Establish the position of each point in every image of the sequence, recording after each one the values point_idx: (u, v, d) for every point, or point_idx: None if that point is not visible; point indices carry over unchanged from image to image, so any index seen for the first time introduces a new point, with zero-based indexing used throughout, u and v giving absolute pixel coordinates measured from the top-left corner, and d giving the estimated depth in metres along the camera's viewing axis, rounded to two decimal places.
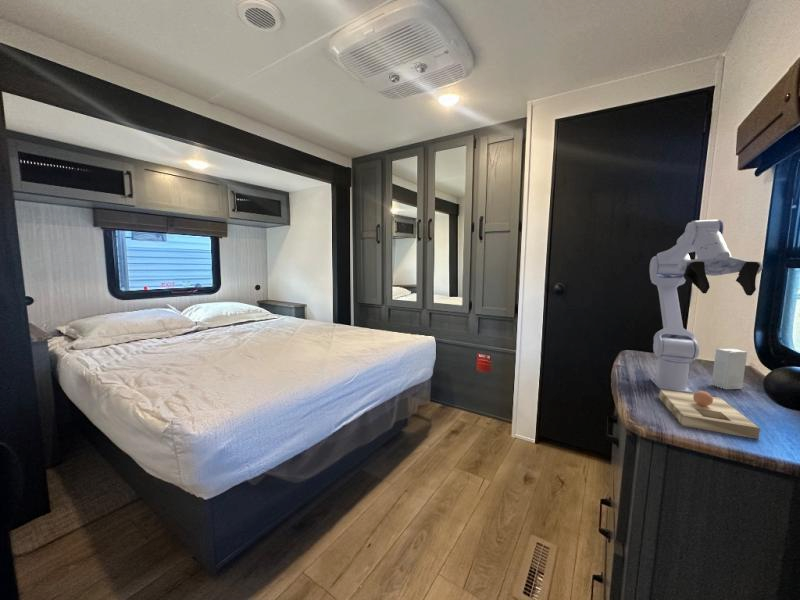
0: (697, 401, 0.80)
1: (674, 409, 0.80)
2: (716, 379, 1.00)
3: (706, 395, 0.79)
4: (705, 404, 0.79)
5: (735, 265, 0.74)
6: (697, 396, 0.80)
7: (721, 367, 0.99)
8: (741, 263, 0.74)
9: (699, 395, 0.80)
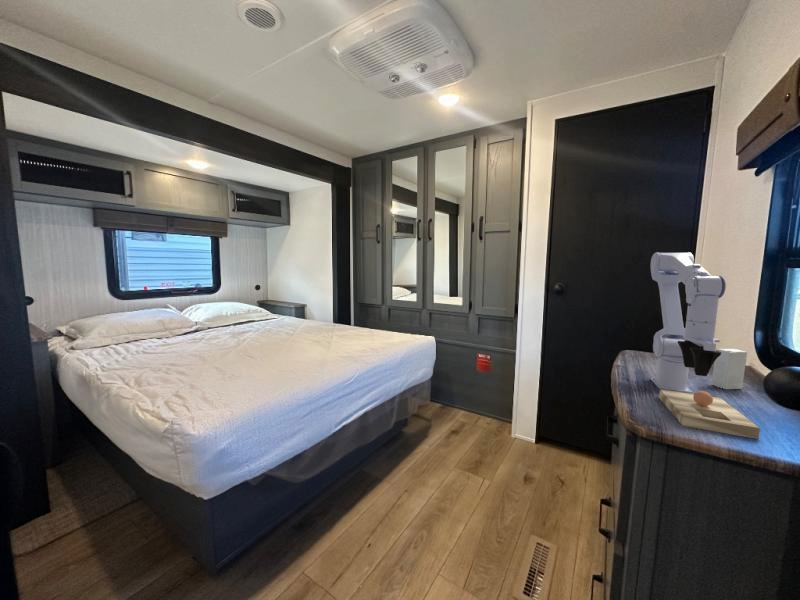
0: (697, 401, 0.80)
1: (674, 409, 0.80)
2: (716, 379, 1.00)
3: (706, 395, 0.79)
4: (705, 404, 0.79)
5: None
6: (697, 396, 0.80)
7: (721, 367, 0.99)
8: None
9: (699, 395, 0.80)
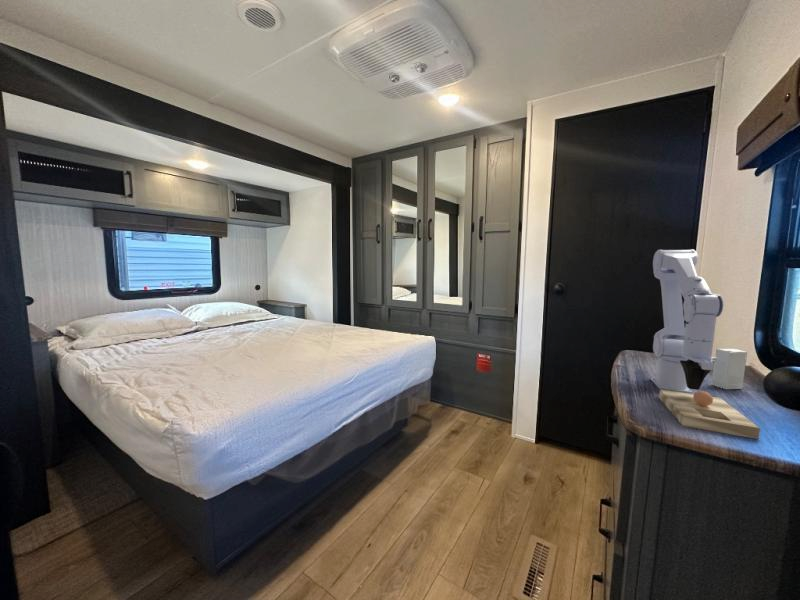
0: (697, 401, 0.80)
1: (674, 409, 0.80)
2: (716, 379, 1.00)
3: (706, 395, 0.79)
4: (705, 404, 0.79)
5: None
6: (697, 396, 0.80)
7: (721, 367, 0.99)
8: None
9: (699, 395, 0.80)
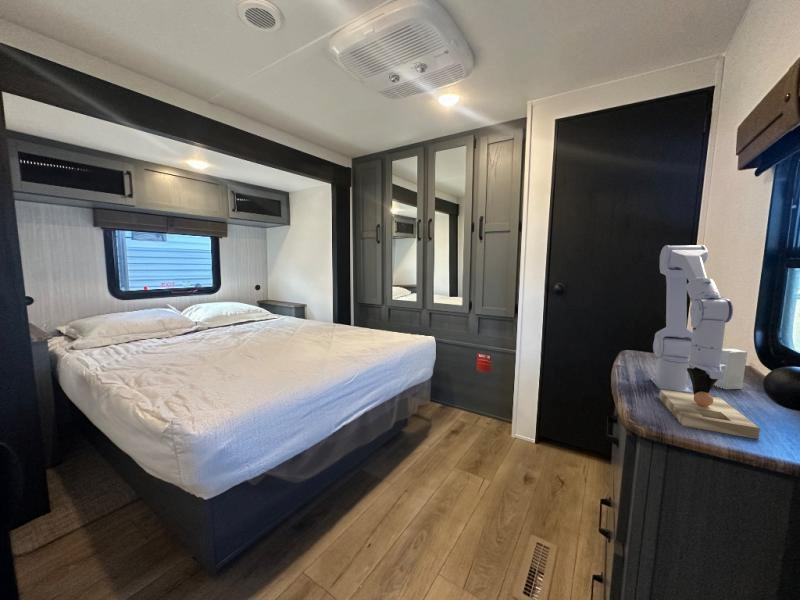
0: (697, 402, 0.80)
1: (674, 409, 0.80)
2: None
3: (706, 396, 0.79)
4: (705, 405, 0.79)
5: None
6: (697, 397, 0.80)
7: None
8: None
9: (699, 396, 0.79)
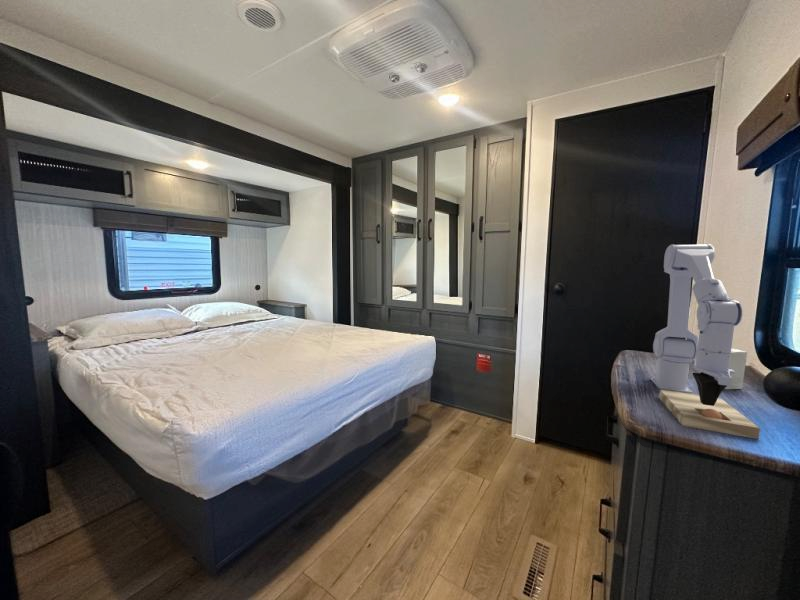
0: None
1: (674, 409, 0.80)
2: None
3: None
4: None
5: None
6: None
7: None
8: None
9: None
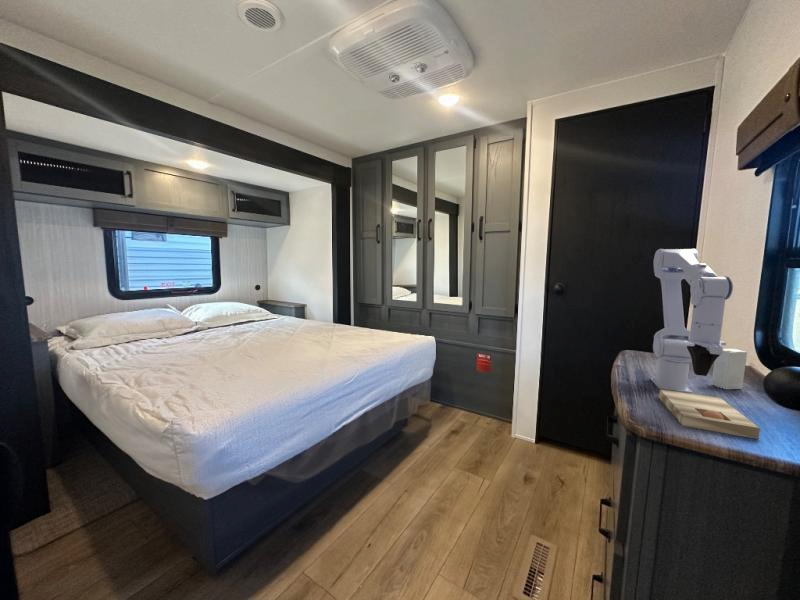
0: None
1: (674, 409, 0.80)
2: (716, 379, 1.00)
3: None
4: None
5: None
6: None
7: (721, 367, 0.99)
8: None
9: None
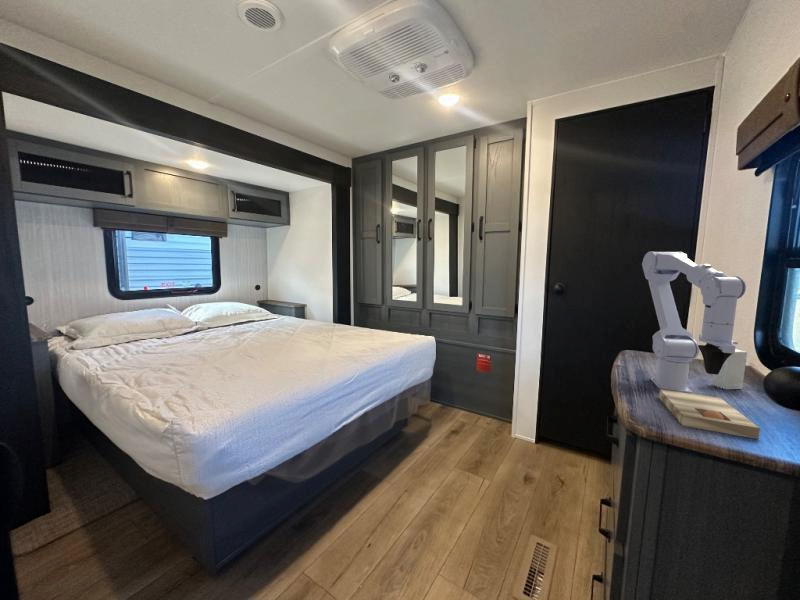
0: None
1: (674, 409, 0.80)
2: (716, 379, 1.00)
3: None
4: None
5: None
6: None
7: None
8: None
9: None
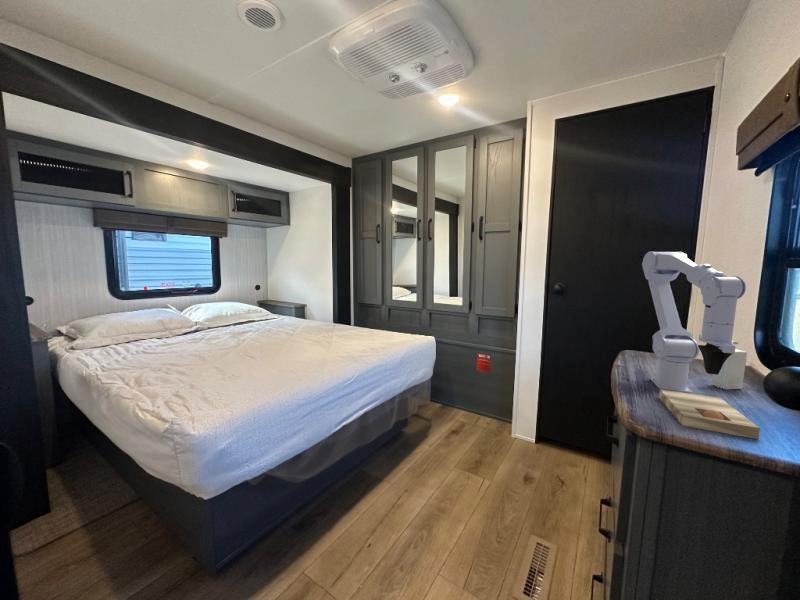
0: None
1: (674, 409, 0.80)
2: (716, 379, 1.00)
3: None
4: None
5: None
6: None
7: None
8: None
9: None
